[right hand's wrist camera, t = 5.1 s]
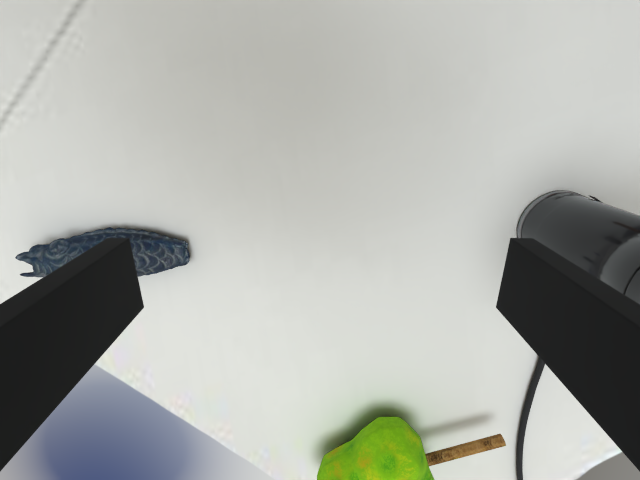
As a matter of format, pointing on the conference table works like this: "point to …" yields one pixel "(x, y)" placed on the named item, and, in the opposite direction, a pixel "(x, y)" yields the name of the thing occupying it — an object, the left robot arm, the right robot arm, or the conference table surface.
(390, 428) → the decorative tree
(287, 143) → the conference table surface
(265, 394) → the conference table surface
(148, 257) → the fish model
